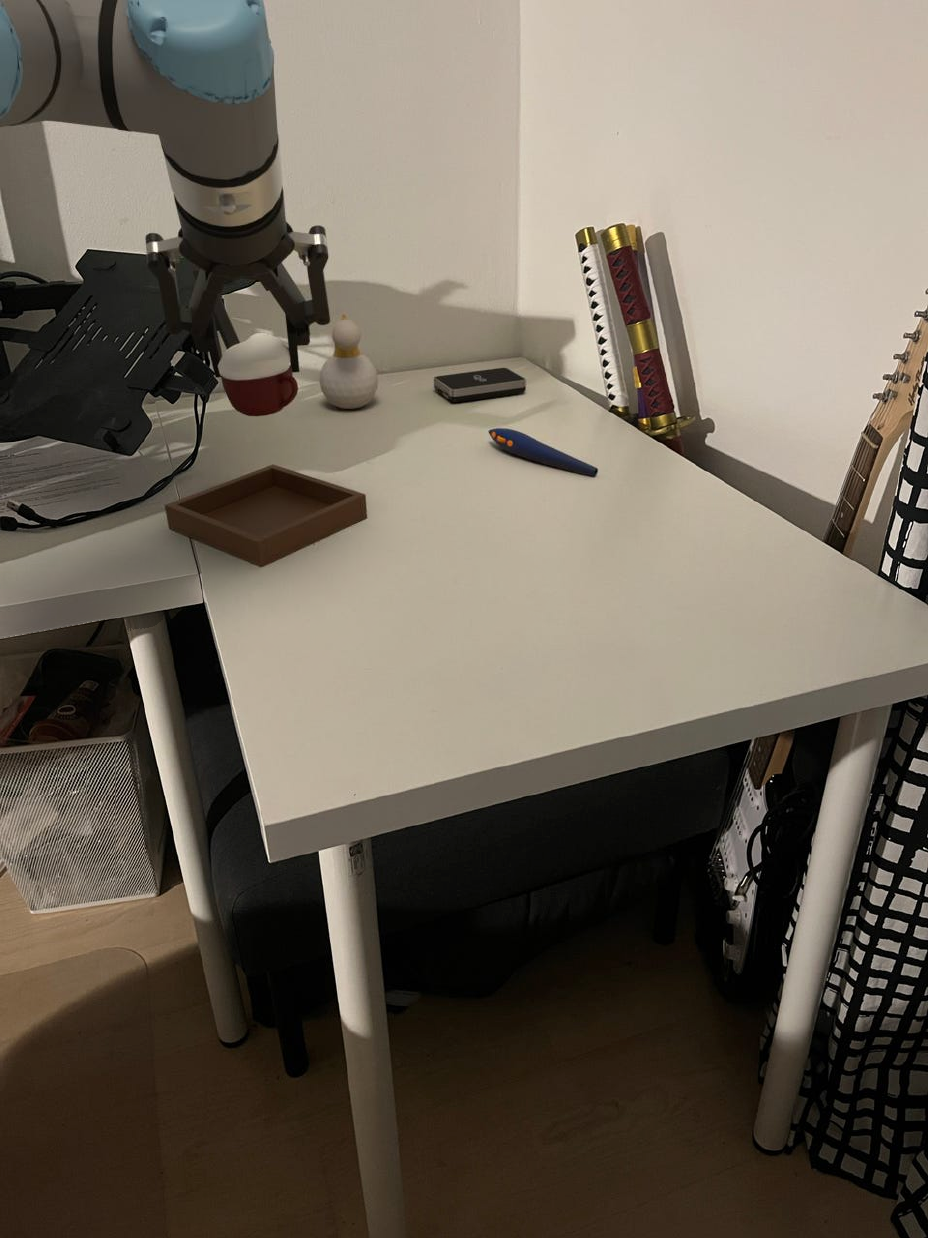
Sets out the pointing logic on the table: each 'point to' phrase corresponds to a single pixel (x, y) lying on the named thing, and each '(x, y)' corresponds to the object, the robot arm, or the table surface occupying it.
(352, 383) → the white gourd-shaped figure
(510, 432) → the tapered navy handle
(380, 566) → the table surface
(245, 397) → the cocoa
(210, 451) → the table surface
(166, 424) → the table surface
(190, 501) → the tray
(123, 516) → the table surface
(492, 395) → the external hard drive
